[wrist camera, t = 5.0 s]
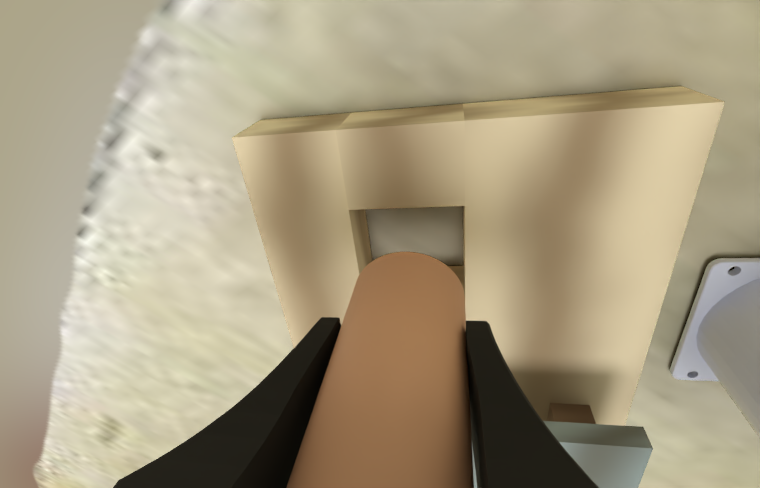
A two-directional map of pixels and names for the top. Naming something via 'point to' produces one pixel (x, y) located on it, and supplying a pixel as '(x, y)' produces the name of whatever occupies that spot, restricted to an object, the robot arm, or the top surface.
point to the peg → (394, 385)
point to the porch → (506, 232)
